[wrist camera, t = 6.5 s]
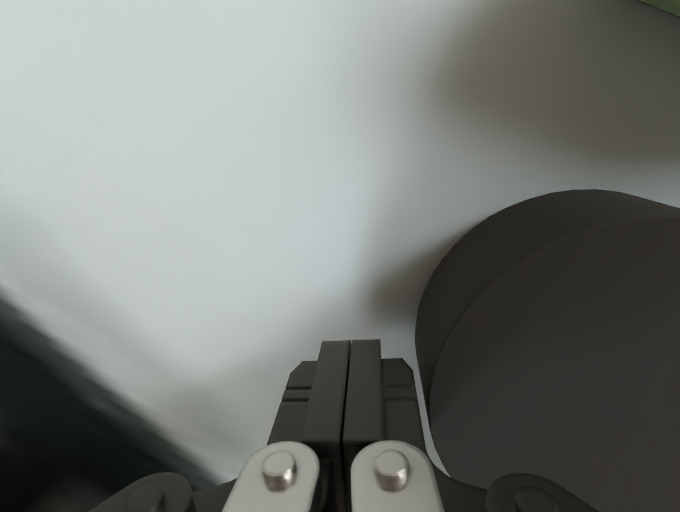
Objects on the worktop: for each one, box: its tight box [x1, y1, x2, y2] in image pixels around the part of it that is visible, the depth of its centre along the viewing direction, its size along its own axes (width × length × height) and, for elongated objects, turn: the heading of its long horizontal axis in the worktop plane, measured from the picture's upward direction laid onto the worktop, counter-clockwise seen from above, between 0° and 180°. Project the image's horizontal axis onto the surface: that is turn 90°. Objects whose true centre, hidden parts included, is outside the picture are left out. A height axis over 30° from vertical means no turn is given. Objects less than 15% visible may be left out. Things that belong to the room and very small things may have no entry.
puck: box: [415, 189, 680, 512], centre depth 10 cm, size 8×8×3 cm
